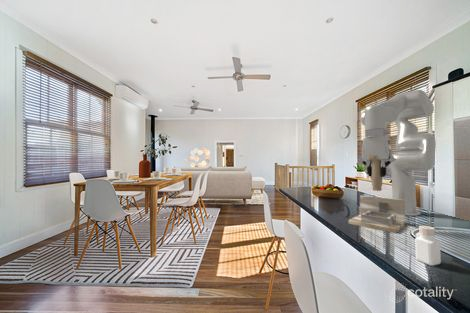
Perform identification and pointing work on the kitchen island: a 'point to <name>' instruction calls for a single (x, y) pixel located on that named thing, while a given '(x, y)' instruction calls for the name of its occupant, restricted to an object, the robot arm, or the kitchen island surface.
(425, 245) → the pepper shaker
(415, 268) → the kitchen island surface
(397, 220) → the hinge stand
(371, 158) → the handle
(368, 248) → the kitchen island surface
